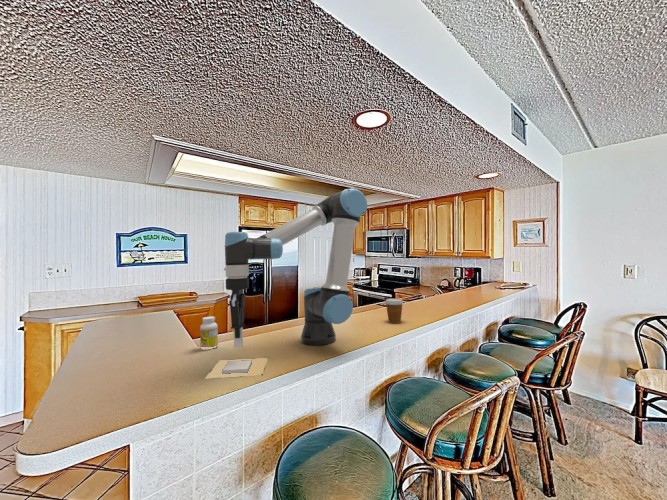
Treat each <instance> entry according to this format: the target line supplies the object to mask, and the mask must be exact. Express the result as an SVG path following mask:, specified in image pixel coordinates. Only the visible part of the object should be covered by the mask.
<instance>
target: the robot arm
mask: <svg viewBox="0 0 667 500" xmlns="http://www.w3.org/2000/svg"><path fill="white" fill-rule="evenodd" d="M367 209H368V201H367V198H366V196H365V195H364V193H363V192H362V191H361V190H359V189H357V188H353V187H352V188H347V189H346V188H345V189H344V190H342V191H339V192H337V193H333V194H331V195H329V196H328V197H326V198H324V199H323V200H322V201H320V202H319V203H316V204H315V205H313V206H312V208H311V209H310V210H308V211H307V212H305V213H303V214H301V215H299V216H297V217H295V218H293V219H291V220H289V221H287V222H285V223H284V224H281V225H279V226H278V227H275V228H274V229H272V230H269V231H268V232H266V233H264V234H262V235H260V236H258V237H249V234H248V233H247V232H246V231H229V232H227V233H225V237H224V259H225V262H224V263H225V267H224V268H223V271H225V277H226V279H225V289H226V290H228V291H231V295H230V300H229V302H228V303H229V308H230V318H231V327H230V328H231V330H233V348H234V349H235V348H243V347H244V331H243V330H244V327H246V324H244V323H245V299H246V295H245V293H244V290H248V289H249V288H250V284H249V283H250V281H249V280H250V278H249V275H250V272H249V271H250V270H249V269H250V267H249V260H276V259H280V258H281V257H282V255H283V253H284V252H283V251H284V247H283V246H284V245H287V244H288V243H289V242H292V241H293V240H296V239H297V238H299V237H300V236H302V235H304V234H306V233H309V232H310V231H311V230H314V229H315V228H317V227H320V226H325V225H327V224H329V223H333V225H334V226H333V232H332V238H331V246H330V253H329V259H328V266H327V273H326V279H325V283H323V284H322V285H321V287H313V288H306V289H305V290H304V293H303V306H304V307H303V309H304V312H303V313H304V325H303V328H302V331H301V335H300V341H302V342H303V343H302V342H301V343H302V344H304V343H305V345H308V344H309V346H325V345H329V344H332V343H335V342H336V340H337V338H336V336H337V335H336V332H335V330H334V326H333V324H334V325H340V324H344V323H345V322H347V320H348V319H349V318H350V317H351V315H352V314H353V309H354V303H353V301H352V299H351V297H350V292H351V290H350V289H349V287H348V280H349V274H350V273H349V271H350V267H351V258H352V253H353V252H352V251H353V245H354V238H355V233H356V232H355V229H356V228H358V226H359V225H360V222H361V217H362V216H363V215H364V214H366V212H367Z"/></svg>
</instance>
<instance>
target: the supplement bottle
mask: <svg viewBox="0 0 667 500" xmlns="http://www.w3.org/2000/svg"><path fill="white" fill-rule="evenodd" d="M215 321H216V316H213V315H212V316H205V317H202V324H201V325H200V326H199V327H200V328H199V336H200V337H199V338H200V340H199V342H200V348H201V347H214V346H217V345H218V346H219V336H218V334H219V331H218V329H219V328H218V323H216V322H215Z"/></svg>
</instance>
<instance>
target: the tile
mask: <svg viewBox="0 0 667 500" xmlns="http://www.w3.org/2000/svg"><path fill="white" fill-rule="evenodd" d="M251 365H252V360H241V361H228V362H227V364H226V365H225V367H224V368H223V369H222V374H231V373H248V371H249V369H250V367H251Z"/></svg>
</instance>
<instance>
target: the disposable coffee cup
mask: <svg viewBox="0 0 667 500" xmlns="http://www.w3.org/2000/svg"><path fill="white" fill-rule="evenodd" d="M384 303H385V304H386V305H385V306H386V312H387V320H388V323H390V324H401V322H402V321H401V320H402V310H403V304H404V301H403V299H402V298H387V299H385V302H384Z"/></svg>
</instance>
